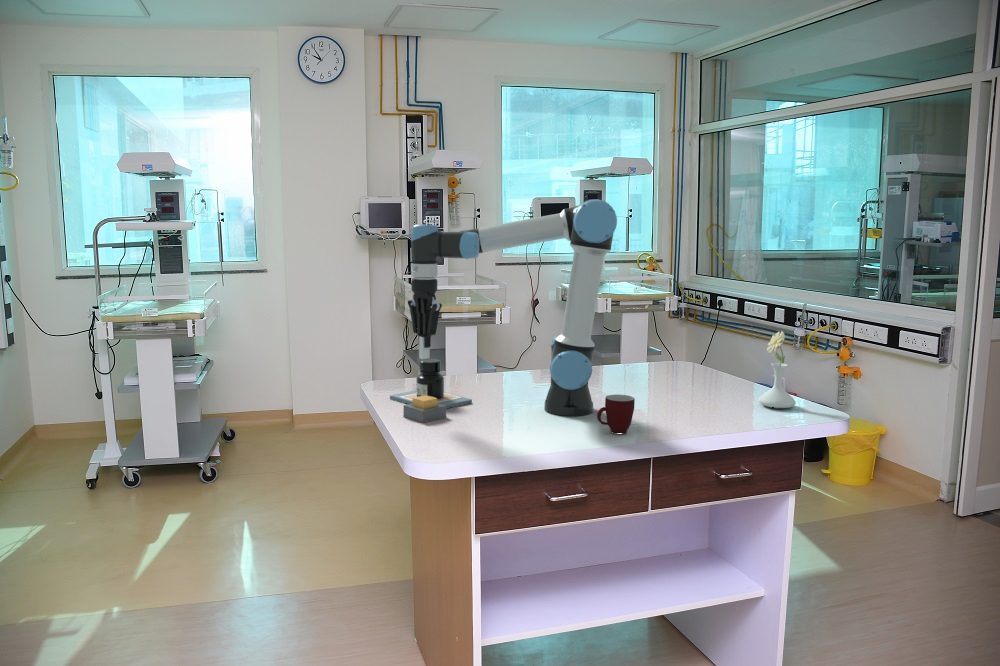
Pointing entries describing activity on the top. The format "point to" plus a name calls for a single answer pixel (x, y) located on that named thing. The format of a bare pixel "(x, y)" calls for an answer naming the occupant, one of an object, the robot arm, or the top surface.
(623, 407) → the mug
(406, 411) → the button housing
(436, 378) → the ink bottle
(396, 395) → the picture board
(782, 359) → the flower in vase
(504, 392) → the top surface
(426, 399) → the button
